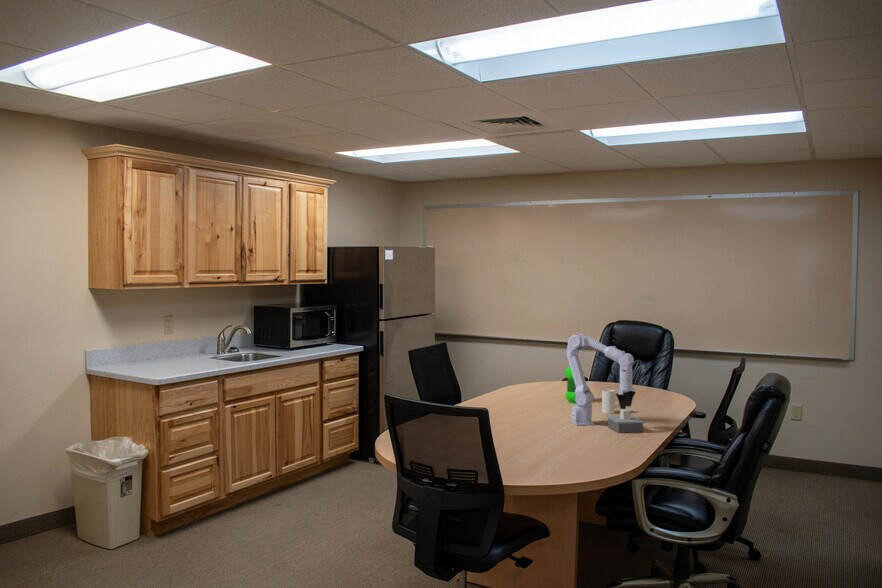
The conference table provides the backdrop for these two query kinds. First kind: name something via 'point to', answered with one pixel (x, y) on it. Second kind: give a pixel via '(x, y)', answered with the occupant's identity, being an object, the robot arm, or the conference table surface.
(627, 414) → the bin lid
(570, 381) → the plastic bottle
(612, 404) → the mug
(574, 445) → the conference table surface
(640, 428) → the bin
